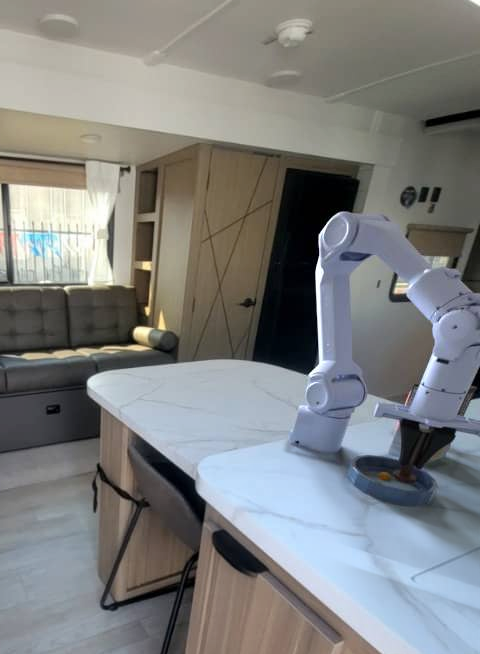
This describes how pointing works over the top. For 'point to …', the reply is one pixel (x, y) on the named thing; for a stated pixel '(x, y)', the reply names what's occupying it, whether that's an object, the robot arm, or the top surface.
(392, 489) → the bowl
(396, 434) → the coffee box
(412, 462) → the stick
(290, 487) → the top surface
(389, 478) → the bead
